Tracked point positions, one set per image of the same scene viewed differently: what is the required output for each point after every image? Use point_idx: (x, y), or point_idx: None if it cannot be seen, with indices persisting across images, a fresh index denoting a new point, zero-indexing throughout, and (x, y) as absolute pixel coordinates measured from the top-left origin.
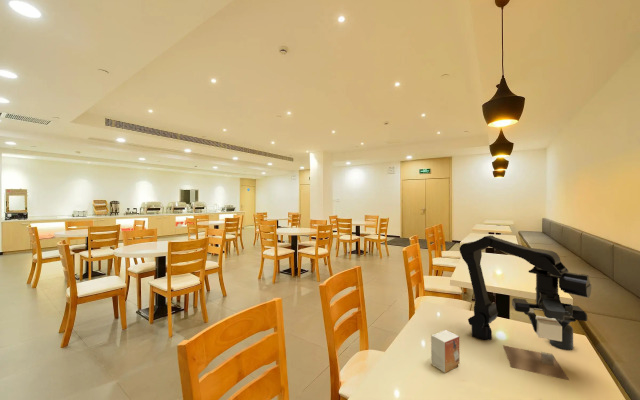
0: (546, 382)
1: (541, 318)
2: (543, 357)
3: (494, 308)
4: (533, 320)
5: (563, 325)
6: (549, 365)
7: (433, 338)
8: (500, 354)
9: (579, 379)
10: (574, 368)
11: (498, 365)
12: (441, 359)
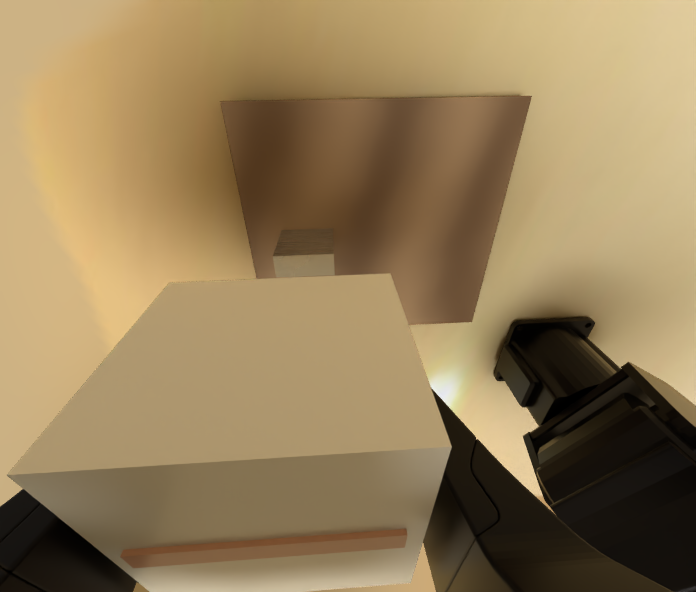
0: (352, 36)
1: (335, 562)
2: (327, 243)
3: (616, 547)
4: (487, 489)
5: (32, 511)
6: (301, 225)
7: None
8: (504, 251)
9: (176, 175)
10: (192, 273)
11: (574, 121)
12: None
